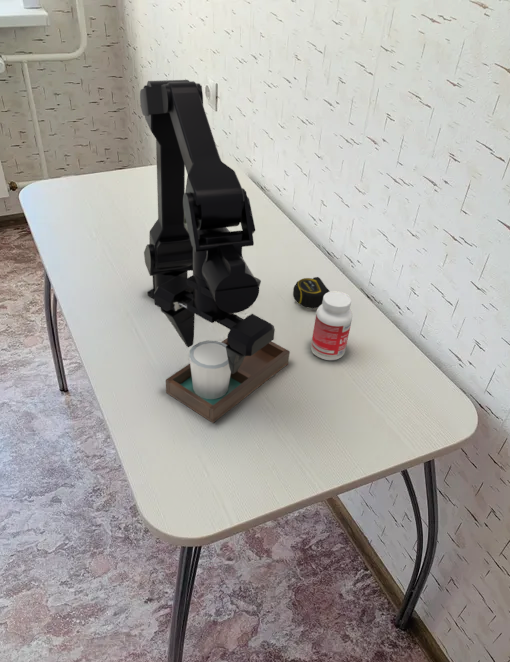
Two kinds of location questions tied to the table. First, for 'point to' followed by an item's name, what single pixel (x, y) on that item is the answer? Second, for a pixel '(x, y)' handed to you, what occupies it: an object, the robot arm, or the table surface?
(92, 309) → the table surface
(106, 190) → the table surface
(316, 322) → the pill bottle
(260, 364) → the holder
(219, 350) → the white cup
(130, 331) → the table surface
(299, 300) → the tape measure
